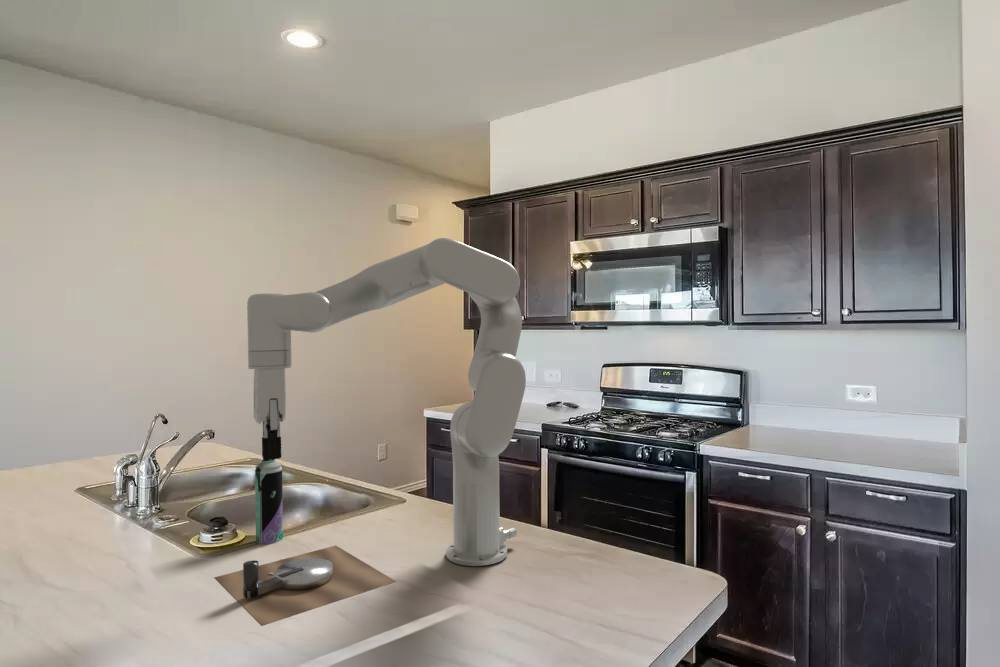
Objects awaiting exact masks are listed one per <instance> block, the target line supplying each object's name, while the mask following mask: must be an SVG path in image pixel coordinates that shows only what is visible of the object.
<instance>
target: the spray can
mask: <svg viewBox="0 0 1000 667" xmlns="http://www.w3.org/2000/svg"><path fill="white" fill-rule="evenodd" d="M282 465H283V464H282V463H281V462H279V461H276V459H270V460H264V459H263V458H262V459H261V461H260V462H259V463H258V464H256V465H255V469H254V487H255V488H254V489H255V491H254V493H255V494H254V495H255V496H254V497H255V505H254V506H255V507H254V508H255V542H256V543H257V544H259V545H271V544H275V543H276V544H277V543H278V542H281V541H283V539H284V516H283V515H284V511H283V510H284V509H283V504H284V502H283V501H284V500H283V467H282Z"/></svg>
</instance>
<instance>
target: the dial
mask: <svg viewBox="0 0 1000 667" xmlns="http://www.w3.org/2000/svg"><path fill="white" fill-rule="evenodd" d="M259 566H260V564H259V561H258V560H254V559H253V560H248V561H246V562H243V564H242V568H243V569H242V570H243V584H244V588H243V596H244V597H245V598H248V599H249V598H253V597H256V596H258V595H260V594H263V593H266V592H268V591H271V590H274V589H277V588H283V589H289V590H301V589H308V588H313V587H316V586H319V585H322V584H324V583H326V582H328V581H329V580H330V579H331V578H332V576H333V564H332V563H331V562H330V561H329V560H326V559H321V558H304V559H298V560H293V561H290V562H287V563H285V564H283V565H281V566H279V567H278V568H277V569H276V570H275V577H274V578H271V579H268V580H265V581H262V582H259Z"/></svg>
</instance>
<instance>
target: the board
mask: <svg viewBox="0 0 1000 667" xmlns="http://www.w3.org/2000/svg"><path fill="white" fill-rule="evenodd" d="M304 558H321V559H326V560H329V561H330V562H331V563H332V564H333V576H332V578H331V579H330V580H329V581H328V582H326V583H324V584H322V585H319V586H316V587H313V588H308V589H301V590H289V589H283V588H277V589H274V590H271V591H268V592H266V593H263V594H260V595H258V596H256V597H253V598H249V599H248V598H245V597H244V596H243V588H244V584H243V569H242V570H241V569H240V570H237V571H234V572H230V573H226V574H222V575H218V576H214V579H215V580H216V581H217V582H218V583H219V584H220V585H221V586H222V587H223V588H224V589H225V591H227V592H228V593H229V595H231V597H233V599H234V600H236V601H237V603H239V605H240V606H241V607H243V609H244V610H246V612H247V613H248V614H249V615H250V616H251V617H252V618H253V619H254V620H255V621H256V622H257V623H258V624H259V625H260V627H261V626H262V627H263V626H267V625H269V624H272V623H275V622H278V621H281V620H284V619H287V618H290V617H293V616H297V615H300V614H302V613H305V612H308V611H311V610H314V609H317V608H320V607H323V606H326V605H330V604H333V603H335V602H339V601H342V600H344V599H348V598H350V597H351V598H352V597H354V596H357V595H360V594H363V593H366V592H369V591H372V590H375V589H378V588H381V587H385V586H388V585H391V584H394V583H396V582H397V581H396V580H395V579H393V578H392V577H390V576H388V575H387V574H385V573H383V572H381V571H380V570H378V569H377V568H374V567H373V566H372V565H370V564H368V563H366V562H365V561H363V560H361V559H360V558H358V557H356V556H354V555H352V554H351V553H349V552H348V551H346V550H344V549H343V548H342V547H340V546H337V545H332V546H329V547H325V548H321V549H318V550H314V551H309V552H305V553H302V554H297V555H293V556H290V557H286V558H282V559H279V560H276V561H271V562H267V563H264V564H261V565H260V564H259V582H262V581H265V580H268V579H271V578H274V577H275V570H276V569H277V568H278V567H279V566H281V565H283V564H285V563H287V562H290V561H293V560H298V559H304Z"/></svg>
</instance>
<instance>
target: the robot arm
mask: <svg viewBox="0 0 1000 667" xmlns="http://www.w3.org/2000/svg"><path fill="white" fill-rule="evenodd" d="M444 284H446V285H449V286H451V287H454V288H455V289H457V290H461V291H463V292H466V293H467V294H468V295H469V297H470V298H471V300H472V301H473V302H474V303H475V304H476V306H477V307H478V310H479V312H480V326H479V333H478V338H477V339H476V340H477V341H476V344H475V349H474V350H473V355H472V359H471V361H470V364H469V367H468V372H467V380H468V384H469V386H470V387H471V389H472V390H473V391H474V395H473V399H472V401H467V402H465V403H463V404H461V405H459V406H458V407H457V408H456V410H455V411H454V412H453V415H452V417H451V420H450V426H449V427H450V429H449V432H450V443H451V444H450V445H451V451H452V452H451V454H452V474H453V475H452V478H453V479H452V491H453V492H452V496H453V498H452V499H453V500H452V502H453V503H452V505H453V506H452V507H453V508H452V510H453V516H452V517H453V519H452V520H453V522H452V523H453V543H451V544H450V545H448V547H447V548H446V550H445V555H446V558H447V559H448V560H449V561H450V562H452V563H453V564H456V565H460V566H466V567H484V566H489V565H494V564H497V563H499V562H502V561H503V560H505V559H506V558H507V556H508V548H507V546H506V545H505V543H506V541H507V540H509V539H513V538H515V537H517V535H518V532H517V529H516V528H515V527H511V528H508V529H506V530H504V528H503V527H500V525H501V524H500V522H501V521H500V519H501V518H500V509H501V508H500V459H499V458H500V457H499V455H500V454H501V453H503V452H504V451H505V450H506V449H507V447H509V445H510V442H511V441H512V437H513V435H514V433H515V429H516V425H517V420H518V418H519V413H520V411H521V407H522V403H523V400H524V395H525V391H526V387H527V386H526V384H527V380H526V379H527V377H526V371H525V369H524V366H523V364H522V362H521V361H520V360H519V359H518V358H517V357H516V356H517V352H518V348H519V343H520V338H521V333H522V326H523V318H522V312H521V308H520V304H519V302H518V300H517V298H516V295H517V294H518V292H519V290H520V286H521V280H520V276H519V272H518V271H517V269H516V268H515V267H514V265H512V264H511V263H510V262H508V261H506V260H505V259H502V258H499V257H497V256H495V255H493V254H490V253H488V252H485V251H482V250H480V249H478V248H475V247H473V246H470V245H469V244H468V245H467V244H465V243H463V242H461V241H458V240H455V239H452V238H448V237H438V238H437V239H436V238H435V239H433V240H432V241H430V242H429V243H427V244H424V245H422V246H420V247H417V248H415V249H412V250H410V251H407V252H404V253H402V254H399V255H396V256H394V257H391V258H388V259H385V260H383V261H380V262H377V263H375V264H372V265H370V266H368V267H366V268H364V269H363V270H361V271H360V272H358V273H357V274H355V275H353V276H351V277H350V278H349V277H348V278H347V279H345V280H342V281H341V282H337V283H335V284H332V285H330V286H327V287H325V288H323V289H319V290H317V291H315V292H313V291H309V292H302V293H292V294H283V293H254V294H251V295H250V296H249V297H248V299H247V303H246V304H247V305H246V310H247V312H246V313H247V319H246V320H247V358H248V360H247V365H248V369H249V370H254V371H253V419H254V420H255V422H256V423H257V424H259V425H261V426H262V437H261V457H262V460H263V459H264V460H270V459H275V460H278V459H281V458H282V436H281V423H283V422H285V420H286V413H287V412H286V410H287V409H286V407H287V399H286V397H287V396H286V394H287V392H286V389H287V388H286V369H290V368H292V331H294V332H295V331H296V332H302V333H311V334H312V333H314V334H315V333H318V332H321V331H324V330H325V329H327V328H329V327H331V326H335V324H339V323H341V322H343V321H346V320H348V319H351V318H354V317H356V316H360V315H362V314H364V313H368V312H372V311H375V310H381V309H383V308H386V307H390V306H392V305H395V304H397V303H399V302H402V301H404V300H407V299H409V298H412V297H414V296H416V295H419V294H422V293H424V292H426V291H429V290H432V289H434V288H437V287H440V286H442V285H444Z"/></svg>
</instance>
